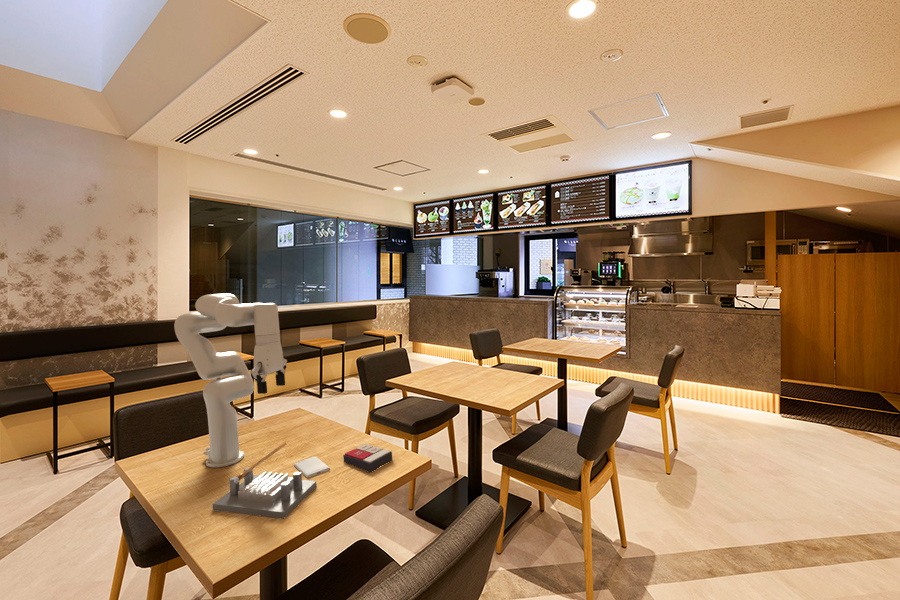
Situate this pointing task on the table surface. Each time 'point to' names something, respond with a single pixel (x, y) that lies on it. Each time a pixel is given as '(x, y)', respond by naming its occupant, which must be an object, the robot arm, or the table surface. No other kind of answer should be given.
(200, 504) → the table surface
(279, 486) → the heat sink
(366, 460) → the calculator
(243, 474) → the retention strap
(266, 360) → the robot arm
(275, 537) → the table surface
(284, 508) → the grey mounting plate
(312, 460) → the hard drive
